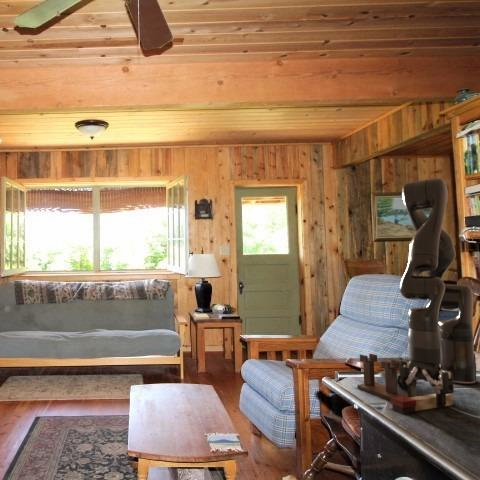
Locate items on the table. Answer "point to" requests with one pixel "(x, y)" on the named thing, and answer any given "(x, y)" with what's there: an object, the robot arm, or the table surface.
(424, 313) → the robot arm
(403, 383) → the microphone
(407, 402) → the brush
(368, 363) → the rack
